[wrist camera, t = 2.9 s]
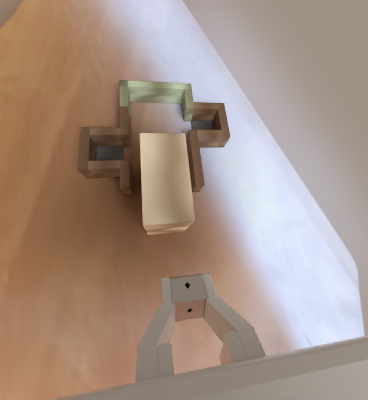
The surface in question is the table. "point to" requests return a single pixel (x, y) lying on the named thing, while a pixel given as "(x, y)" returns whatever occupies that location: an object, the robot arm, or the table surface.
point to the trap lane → (121, 137)
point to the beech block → (165, 183)
